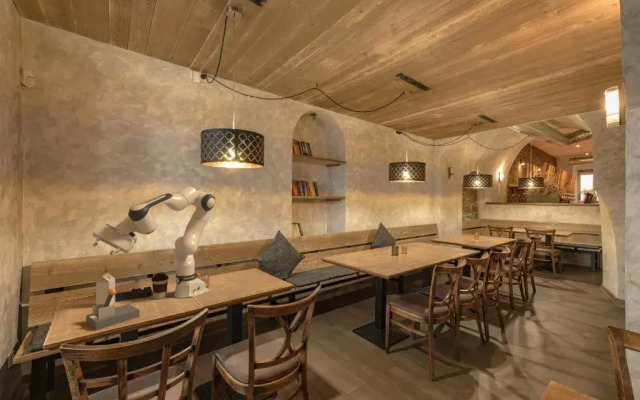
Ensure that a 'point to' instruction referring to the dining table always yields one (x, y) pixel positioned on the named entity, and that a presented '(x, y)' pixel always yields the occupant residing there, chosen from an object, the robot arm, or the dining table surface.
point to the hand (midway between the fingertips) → (102, 249)
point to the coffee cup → (160, 285)
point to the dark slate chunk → (133, 294)
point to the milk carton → (104, 289)
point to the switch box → (111, 315)
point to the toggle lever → (109, 297)
